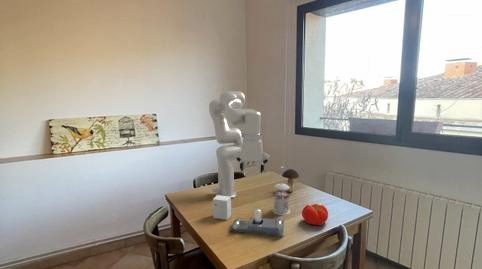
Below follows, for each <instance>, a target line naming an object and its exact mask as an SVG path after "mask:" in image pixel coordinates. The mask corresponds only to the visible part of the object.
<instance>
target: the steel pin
mask: <svg viewBox="0 0 482 269" xmlns="http://www.w3.org/2000/svg"><path fill="white" fill-rule="evenodd" d="M254 218H255V224H258V225H261V218H262V210H261V209H260V208H255V209H254Z"/></svg>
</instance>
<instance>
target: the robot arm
mask: <svg viewBox="0 0 482 269" xmlns="http://www.w3.org/2000/svg"><path fill="white" fill-rule="evenodd" d="M245 97H246V96H245V94H244V93H243V91H239V90H237V91H236V90H235V91H233V90H231V91H228V90H227V91H223V92H222V93H221V94H220V96H219V98H217V99H213V100H211V101H210V102H209V103H208V104H209V105H208V111H209V115H210V117H211V120H212V121H213V122H212V123H213V125H214V132H215V134H214V135H215V138H216V142H217V143H218V144H220V145H222V146H219V147H217V149H216V150H215V154H216V155H215V156H216V159H217V173H218V174H217V177H218V178H217V179H218V187H217V188H216V187H212V192H213V193H216V195H215V197H216V196H217V195H220V196H228V197H231V199H234V198H236V196H238V195H237V192H236V191H235V178H234V177H235V176H234V175H235V172H234V166H233V164H232V163H231V162H232V161H237V162H238V163H239V169H240V172H243V171H244V168H245V167H244V165H245V164H244V162H245V161H246V162H256V163H257V162H259V163H260V173H261V174H262V173H263V172H264V170H265V164H267V163H268V162H269V159H270V158H271V155H270V154H268V153H266V152H264V150H263V147H264V146H263V141H262V139H261V128H262V127H261V122H262V121H261V119H262V118H261V117H262V115H261V112H260V111H257V110H255V109H253V108H245V109H243V106H244V105H245V103H246V98H245ZM223 114H224V115H223ZM228 123H229V124H231V125H232V126H240V125H244V133H242V131H241V130H240V129H239V128H238V127H229V124H228ZM224 144H229V145H224ZM264 157H265V159H263V158H264Z"/></svg>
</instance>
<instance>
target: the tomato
mask: <svg viewBox="0 0 482 269" xmlns="http://www.w3.org/2000/svg"><path fill="white" fill-rule="evenodd" d="M301 216H302V219H303V220H304V221H305V222H306V223H307V224H309V225H313V226H314V225H316V226H321V225H323V224H325V223H326V222H327V220H328V219H329V212H328V209H327V208H326V206H325V205H324V204H317V203H313V204H311V205H309V204H306V205H305V206H304V207H303V208H302V211H301Z"/></svg>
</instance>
